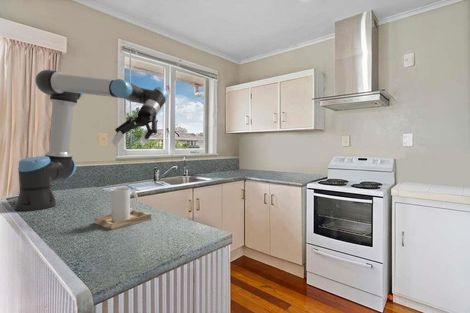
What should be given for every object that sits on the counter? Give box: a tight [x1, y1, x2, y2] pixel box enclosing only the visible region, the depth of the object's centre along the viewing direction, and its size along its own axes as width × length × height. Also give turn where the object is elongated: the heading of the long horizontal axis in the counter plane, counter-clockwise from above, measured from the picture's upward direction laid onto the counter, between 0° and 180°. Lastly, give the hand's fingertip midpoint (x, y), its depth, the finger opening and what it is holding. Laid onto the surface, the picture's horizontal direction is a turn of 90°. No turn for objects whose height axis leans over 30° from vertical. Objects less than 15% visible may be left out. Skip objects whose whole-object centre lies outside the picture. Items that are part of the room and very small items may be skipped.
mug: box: [110, 187, 139, 223], centre depth 99 cm, size 10×7×12 cm, turn 134°
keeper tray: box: [94, 209, 152, 231], centre depth 99 cm, size 13×16×2 cm
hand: (126, 143), depth 107 cm, fingers open, 13 cm apart
